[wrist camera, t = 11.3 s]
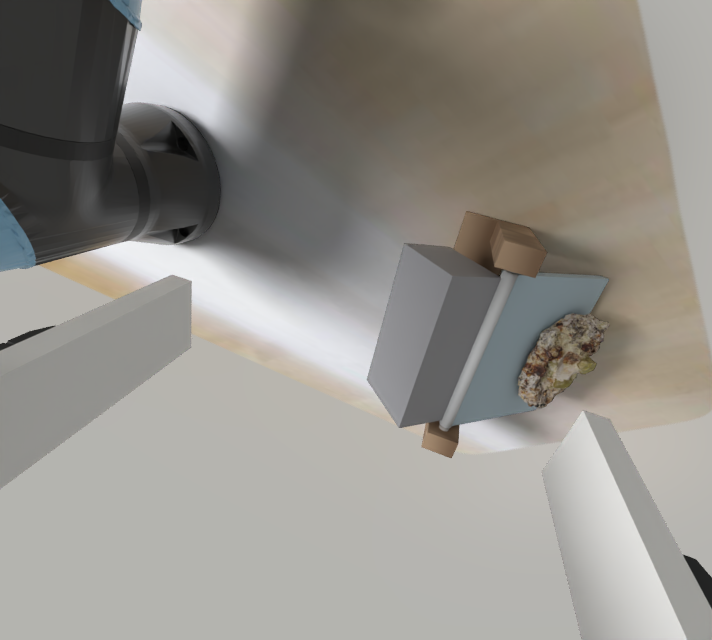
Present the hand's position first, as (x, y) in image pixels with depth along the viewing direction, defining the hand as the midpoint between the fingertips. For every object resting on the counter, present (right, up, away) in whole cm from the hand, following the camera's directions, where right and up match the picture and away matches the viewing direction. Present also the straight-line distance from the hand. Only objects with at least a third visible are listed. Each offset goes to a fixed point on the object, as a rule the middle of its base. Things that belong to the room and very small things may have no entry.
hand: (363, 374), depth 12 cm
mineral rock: (+19, -1, +24) cm, 31 cm away
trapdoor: (+10, +2, +27) cm, 29 cm away
